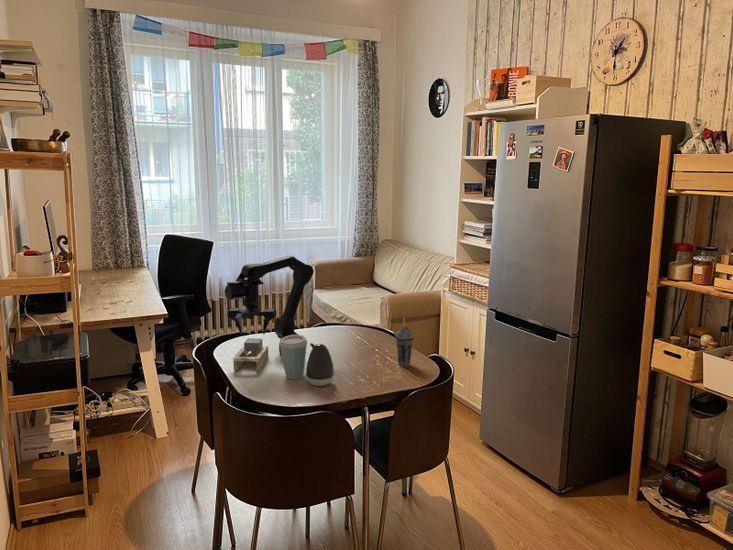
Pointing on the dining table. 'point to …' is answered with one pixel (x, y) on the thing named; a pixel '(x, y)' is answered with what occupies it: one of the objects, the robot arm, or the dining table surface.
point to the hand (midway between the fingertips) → (252, 334)
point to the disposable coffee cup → (293, 355)
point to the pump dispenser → (319, 366)
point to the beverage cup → (404, 345)
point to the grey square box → (253, 346)
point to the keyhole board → (251, 358)
